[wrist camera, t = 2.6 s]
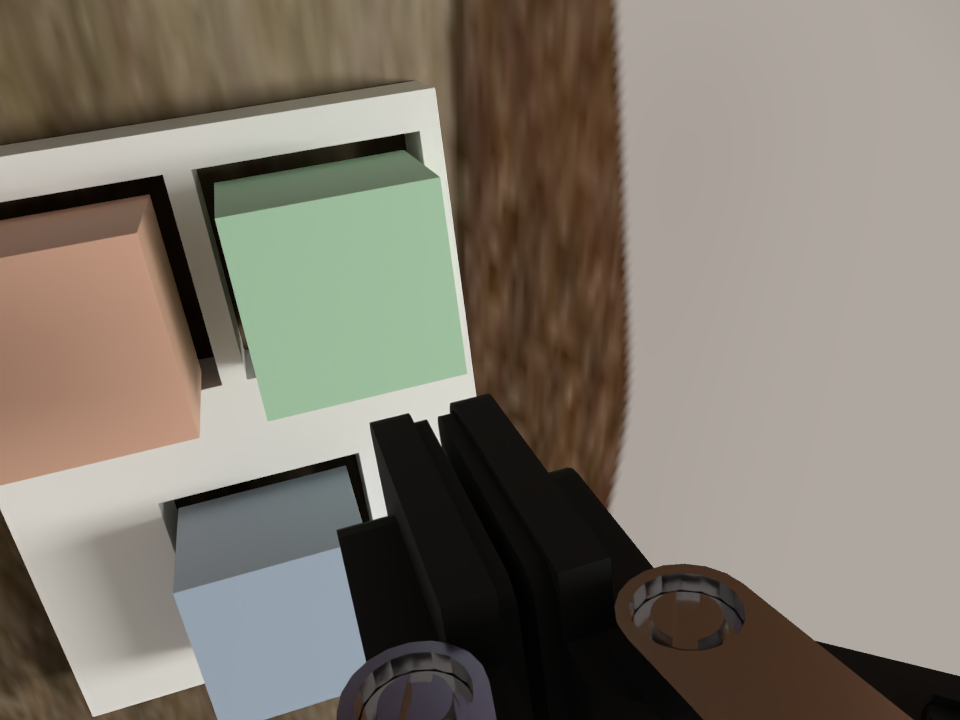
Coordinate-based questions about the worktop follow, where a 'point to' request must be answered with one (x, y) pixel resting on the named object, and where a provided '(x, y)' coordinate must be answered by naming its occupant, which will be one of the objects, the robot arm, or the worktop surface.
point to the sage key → (342, 280)
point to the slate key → (270, 595)
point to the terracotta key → (91, 340)
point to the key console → (224, 390)
